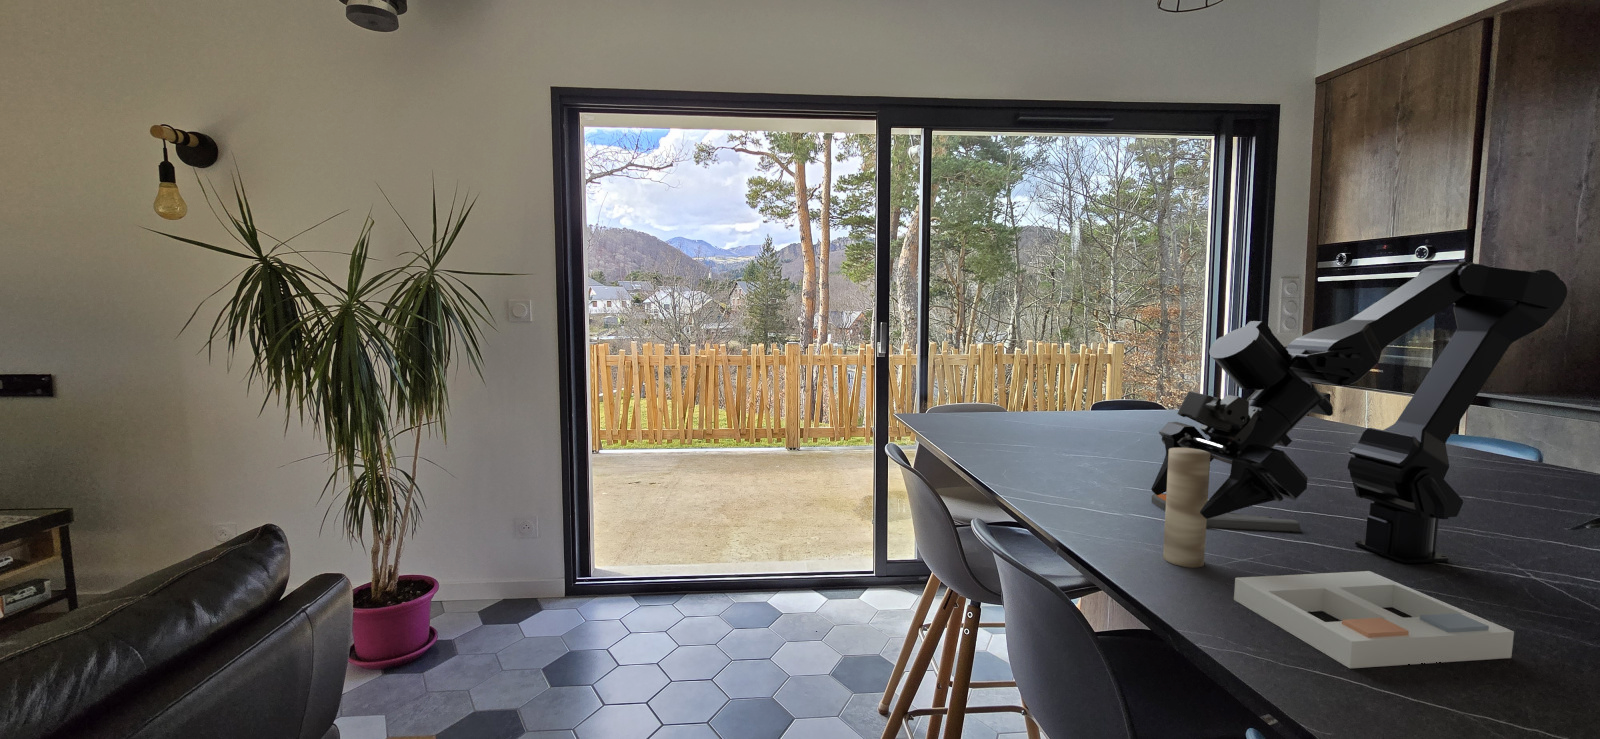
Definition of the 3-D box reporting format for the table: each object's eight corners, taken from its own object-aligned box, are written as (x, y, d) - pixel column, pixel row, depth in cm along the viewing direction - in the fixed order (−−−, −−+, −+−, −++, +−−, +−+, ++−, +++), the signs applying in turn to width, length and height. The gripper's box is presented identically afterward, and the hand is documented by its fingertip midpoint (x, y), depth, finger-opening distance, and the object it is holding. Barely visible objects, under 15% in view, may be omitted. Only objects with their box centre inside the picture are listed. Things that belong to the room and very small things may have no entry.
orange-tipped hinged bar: (1255, 508, 99) (1300, 535, 87) (1147, 503, 102) (1177, 529, 90) (1256, 497, 99) (1301, 523, 87) (1148, 493, 102) (1178, 517, 90)
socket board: (1367, 592, 69) (1369, 567, 69) (1511, 657, 56) (1514, 627, 56) (1233, 599, 67) (1235, 574, 67) (1349, 668, 55) (1352, 637, 54)
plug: (1187, 552, 80) (1193, 447, 79) (1212, 566, 76) (1219, 455, 75) (1155, 554, 80) (1160, 448, 79) (1179, 568, 76) (1185, 456, 74)
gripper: (1176, 363, 85) (1095, 443, 86) (1290, 378, 67) (1186, 480, 67) (1227, 419, 86) (1147, 497, 87) (1353, 449, 68) (1250, 549, 68)
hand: (1177, 503), depth 77 cm, fingers open, 9 cm apart
